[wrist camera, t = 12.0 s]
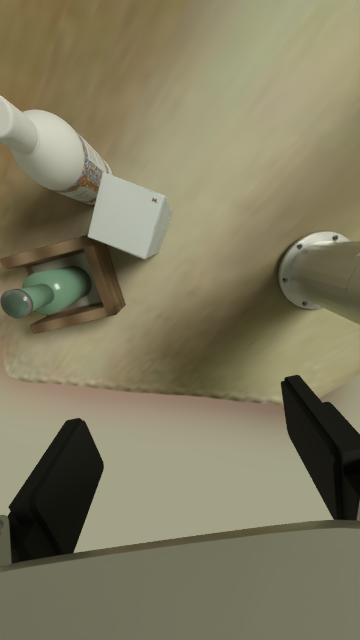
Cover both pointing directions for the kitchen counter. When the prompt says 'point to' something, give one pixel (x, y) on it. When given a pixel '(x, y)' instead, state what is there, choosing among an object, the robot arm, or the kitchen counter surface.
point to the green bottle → (47, 292)
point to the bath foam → (52, 152)
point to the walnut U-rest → (87, 256)
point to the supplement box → (129, 217)
